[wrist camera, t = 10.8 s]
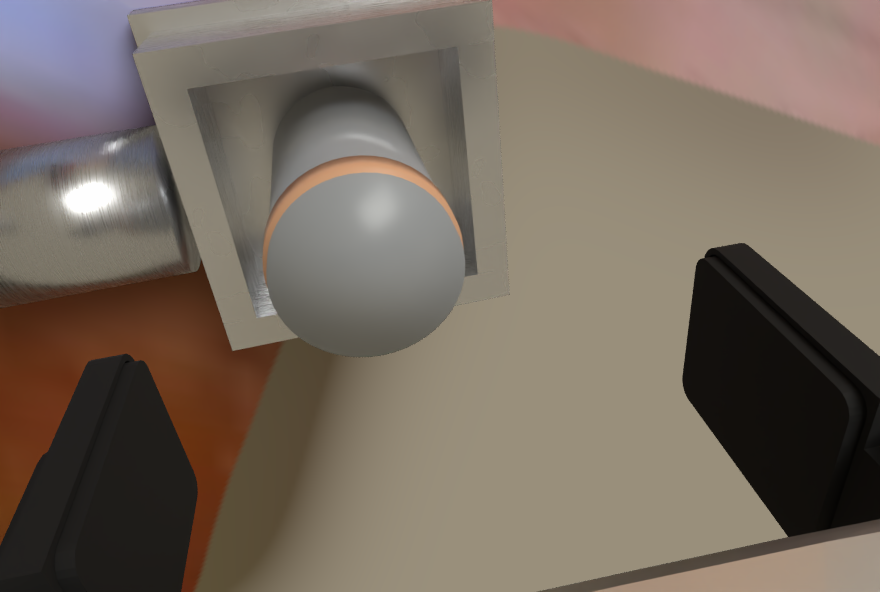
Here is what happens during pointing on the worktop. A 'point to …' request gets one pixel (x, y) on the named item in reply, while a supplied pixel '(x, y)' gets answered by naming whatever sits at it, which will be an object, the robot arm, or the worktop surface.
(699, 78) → the worktop surface
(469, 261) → the fitting
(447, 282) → the canister
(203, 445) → the worktop surface
